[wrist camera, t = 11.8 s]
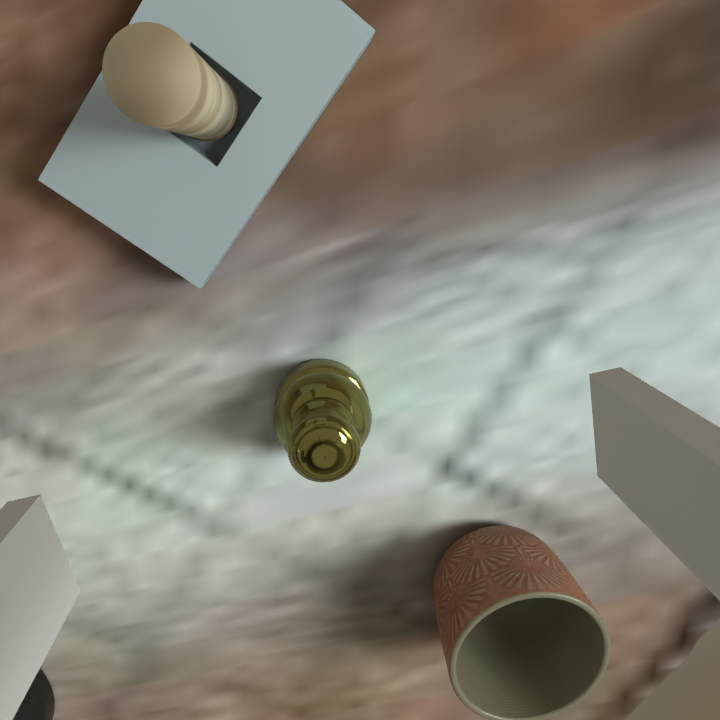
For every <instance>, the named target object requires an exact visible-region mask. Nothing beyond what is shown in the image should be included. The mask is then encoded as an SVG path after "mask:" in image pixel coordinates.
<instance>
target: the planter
mask: <svg viewBox="0 0 720 720" xmlns="http://www.w3.org/2000/svg"><path fill="white" fill-rule="evenodd" d="M433 597H434V606H435V613H436V619H437V624H438V629H439V633H440V638H441V642H442V647H443V651H444V655H445V659H446V664H447V668H448V672H449V677H450V681H451V684H452V687H453V689H454V691H455V693H456V695H457V696H458V698H459V699H460V700H461V701H462V702H463V704H464V705H465V706H467V707H468V708H469V709H470V710H472V711H473V712H475V713H476V714H478V715H480V716H482V717H484V718H487V719H489V720H546V719H549V718H552V717H555V716H557V715H560V714H562V713H564V712H566V711H568V710H569V709H571V708H572V707H574V706H576V705H577V704H578V703H580V702H581V701H582V700H583V699H585V698H586V697H587V696H588V695H589V694H590V693H591V692H592V691H593V690H594V688H595V687H596V686H597V685H598V683H599V681H600V680H601V678H602V677H603V675H604V673H605V671H606V668H607V665H608V662H609V658H610V651H611V643H610V636H609V632H608V629H607V627H606V624H605V622H604V621H603V619H602V617H601V616H600V615H599V613H598V612H597V610H596V609H595V608H594V606H593V605H592V603H591V602H590V600H589V599H588V597H587V596H586V595H585V593H584V592H583V590H582V589H581V588H580V586H579V585H578V583H577V582H576V580H575V579H574V578H573V576H572V575H571V574H570V572H569V571H568V570H567V568H566V567H565V566H564V564H563V563H562V562H561V560H560V559H559V558H558V557H557V556H556V554H555V553H554V552H553V551H552V550H551V549H550V548H549V547H548V546H547V545H546V544H545V543H544V542H543V541H542V540H540V539H539V538H538V537H536V536H535V535H533V534H531V533H529V532H527V531H525V530H523V529H520V528H516V527H512V526H502V525H498V526H488V527H483V528H480V529H477V530H474V531H472V532H469V533H467V534H466V535H464V536H462V537H461V538H459V539H458V540H457V541H456V542H454V543H453V544H452V545H451V546H450V547H449V548H448V549H447V551H446V552H445V553H444V555H443V556H442V558H441V560H440V562H439V564H438V566H437V569H436V572H435V576H434V584H433Z"/></svg>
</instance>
